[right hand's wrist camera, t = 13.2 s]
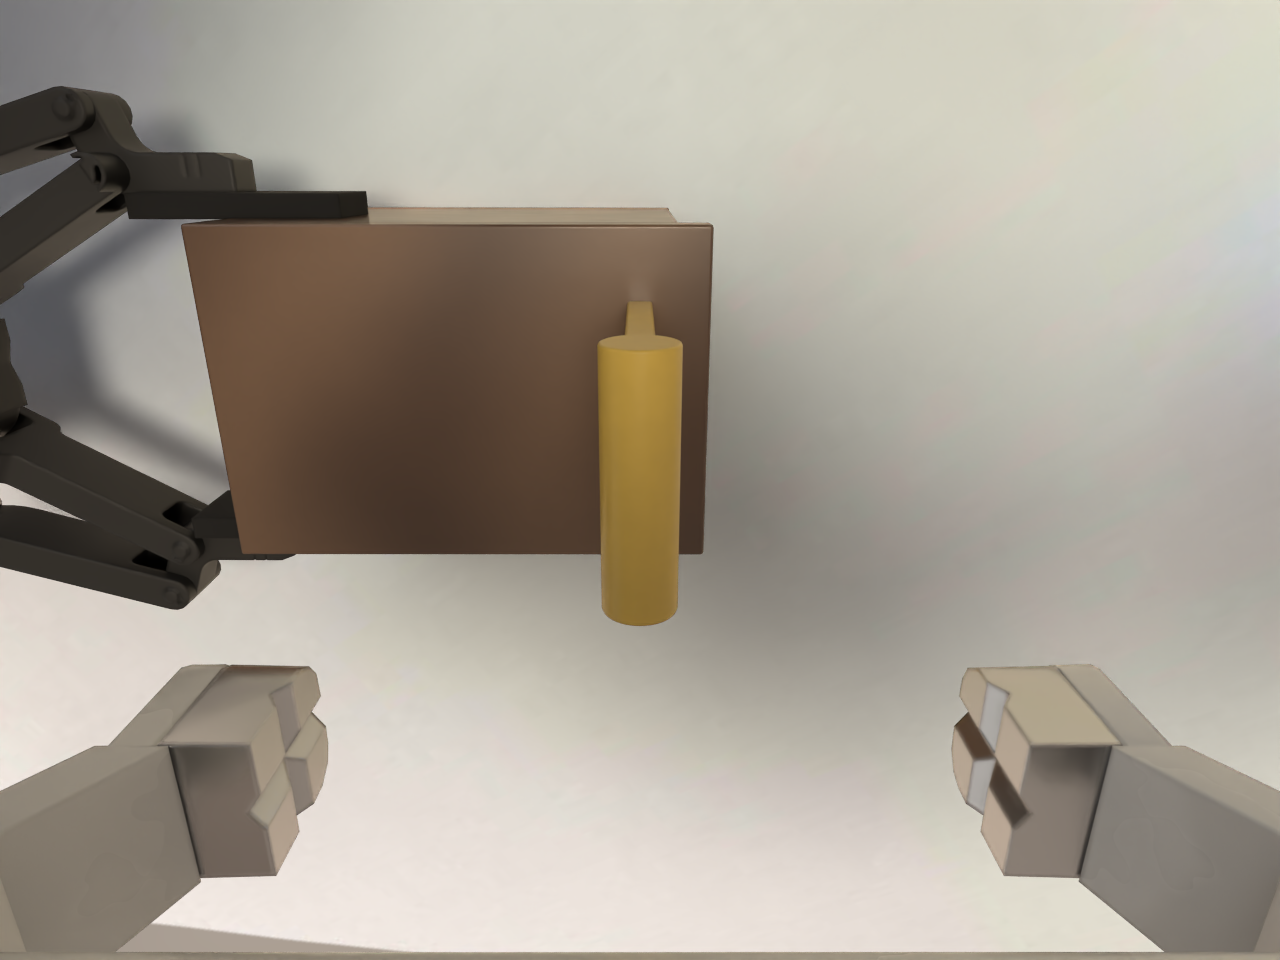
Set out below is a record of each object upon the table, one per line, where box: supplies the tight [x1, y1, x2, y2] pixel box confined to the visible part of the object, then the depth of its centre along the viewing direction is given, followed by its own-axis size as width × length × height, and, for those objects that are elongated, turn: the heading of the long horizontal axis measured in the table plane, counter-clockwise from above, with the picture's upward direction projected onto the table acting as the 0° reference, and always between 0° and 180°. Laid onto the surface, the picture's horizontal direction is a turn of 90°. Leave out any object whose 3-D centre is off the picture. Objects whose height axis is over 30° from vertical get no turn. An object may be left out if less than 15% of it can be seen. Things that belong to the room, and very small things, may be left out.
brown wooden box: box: [203, 207, 678, 223], centre depth 30 cm, size 14×10×10 cm
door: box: [181, 222, 714, 626], centre depth 21 cm, size 15×10×9 cm
